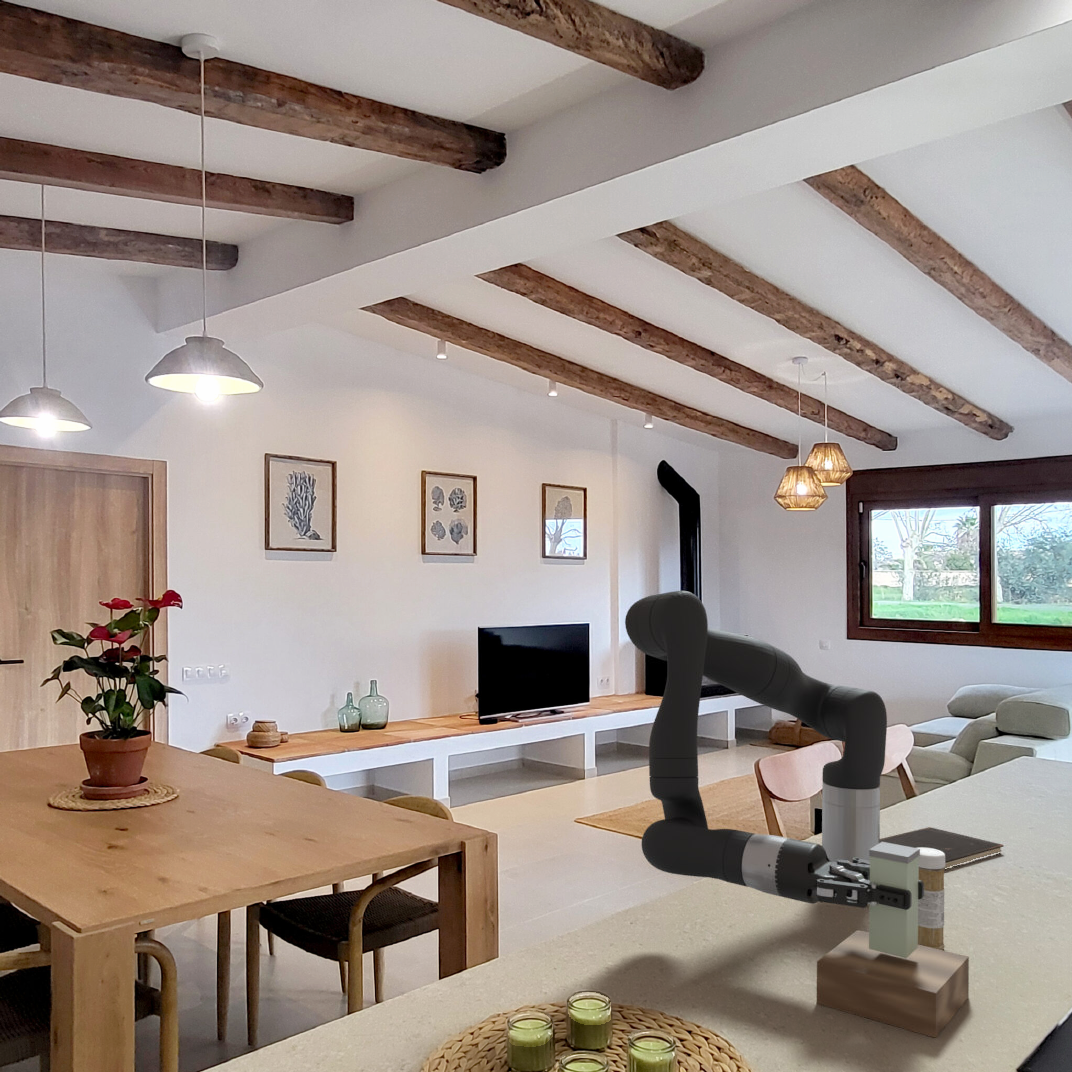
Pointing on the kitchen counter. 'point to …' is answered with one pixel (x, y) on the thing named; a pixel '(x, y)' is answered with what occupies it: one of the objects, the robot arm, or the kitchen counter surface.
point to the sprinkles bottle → (931, 898)
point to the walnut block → (894, 984)
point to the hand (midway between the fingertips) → (916, 895)
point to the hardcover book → (946, 844)
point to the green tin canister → (891, 924)
